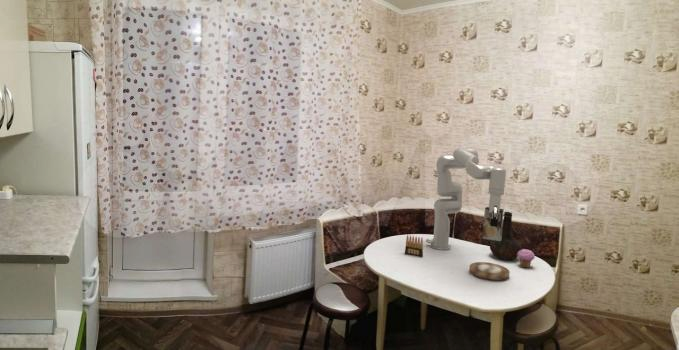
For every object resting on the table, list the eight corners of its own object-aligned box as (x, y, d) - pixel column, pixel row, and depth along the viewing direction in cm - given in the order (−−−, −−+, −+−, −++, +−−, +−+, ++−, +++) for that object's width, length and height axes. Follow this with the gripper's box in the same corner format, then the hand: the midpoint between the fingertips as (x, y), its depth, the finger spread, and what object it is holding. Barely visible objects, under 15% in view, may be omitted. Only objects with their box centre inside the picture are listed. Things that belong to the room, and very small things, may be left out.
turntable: (469, 276, 208) (469, 272, 207) (469, 263, 226) (469, 259, 226) (510, 282, 201) (511, 278, 201) (507, 268, 220) (508, 264, 220)
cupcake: (516, 267, 225) (518, 250, 224) (516, 262, 233) (517, 246, 232) (534, 270, 222) (535, 253, 221) (532, 265, 230) (534, 248, 229)
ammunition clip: (404, 254, 242) (405, 234, 240) (405, 253, 244) (406, 234, 242) (421, 257, 237) (423, 237, 235) (422, 256, 238) (424, 237, 237)
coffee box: (501, 238, 212) (504, 208, 210) (500, 241, 207) (503, 211, 204) (483, 235, 216) (486, 206, 214) (481, 238, 211) (484, 208, 208)
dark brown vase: (517, 254, 248) (522, 210, 244) (522, 264, 231) (527, 217, 227) (487, 251, 253) (491, 207, 249) (490, 260, 236) (494, 214, 232)
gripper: (488, 188, 217) (485, 220, 220) (489, 193, 201) (486, 227, 203) (502, 189, 215) (499, 221, 217) (505, 194, 199) (502, 229, 201)
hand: (493, 224), depth 210 cm, fingers closed on coffee box, 7 cm apart
